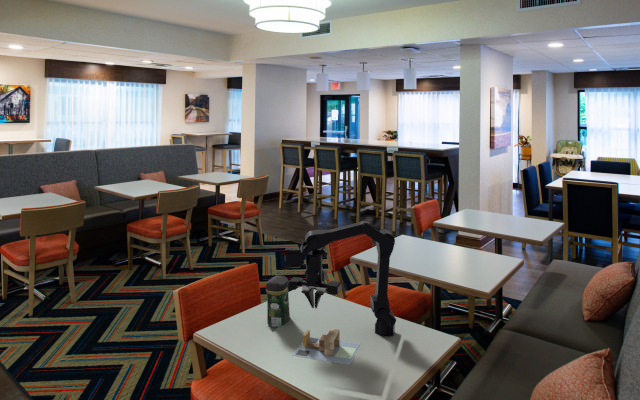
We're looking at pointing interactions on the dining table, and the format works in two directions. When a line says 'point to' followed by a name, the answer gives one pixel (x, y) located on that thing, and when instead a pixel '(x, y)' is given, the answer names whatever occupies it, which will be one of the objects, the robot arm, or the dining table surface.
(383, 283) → the robot arm
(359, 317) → the dining table surface
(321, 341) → the tan u-shaped piece
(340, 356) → the pale blue flat board
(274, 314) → the coffee jar
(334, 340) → the tunnel
